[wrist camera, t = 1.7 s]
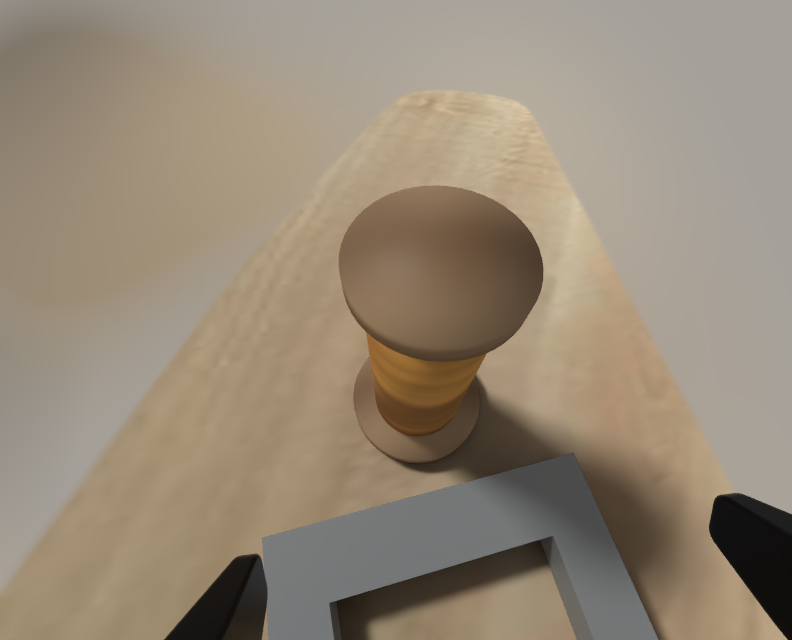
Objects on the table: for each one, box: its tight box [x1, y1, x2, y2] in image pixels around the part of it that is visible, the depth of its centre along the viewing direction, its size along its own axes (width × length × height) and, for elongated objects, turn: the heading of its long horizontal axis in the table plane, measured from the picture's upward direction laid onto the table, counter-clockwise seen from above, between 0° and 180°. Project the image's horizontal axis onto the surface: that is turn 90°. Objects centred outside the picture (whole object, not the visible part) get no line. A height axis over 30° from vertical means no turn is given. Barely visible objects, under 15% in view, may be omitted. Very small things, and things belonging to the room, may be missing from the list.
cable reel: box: [339, 186, 543, 464], centre depth 16 cm, size 7×7×13 cm
